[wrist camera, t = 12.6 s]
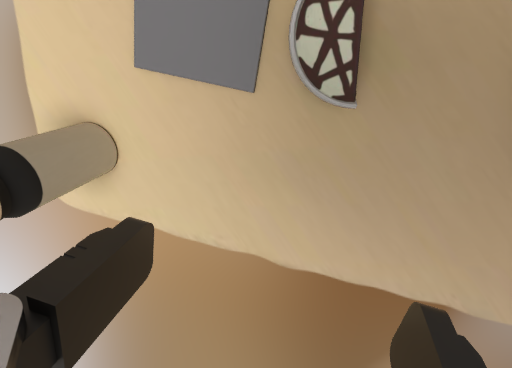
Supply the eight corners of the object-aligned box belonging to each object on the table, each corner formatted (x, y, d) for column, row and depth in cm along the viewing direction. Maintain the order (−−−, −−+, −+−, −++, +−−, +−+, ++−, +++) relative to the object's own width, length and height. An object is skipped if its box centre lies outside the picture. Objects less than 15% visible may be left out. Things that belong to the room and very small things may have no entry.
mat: (281, -70, 30) (280, -73, 30) (254, 92, 37) (253, 92, 36) (137, -90, 32) (134, -92, 32) (137, 66, 39) (134, 67, 39)
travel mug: (116, 127, 43) (-12, 168, 27) (120, 177, 47) (7, 240, 30) (69, 117, 45) (-81, 151, 28) (75, 167, 48) (-55, 223, 32)
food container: (298, -24, 31) (285, -56, 22) (360, -30, 30) (372, -67, 21) (297, 98, 36) (285, 112, 27) (350, 98, 35) (356, 112, 26)
